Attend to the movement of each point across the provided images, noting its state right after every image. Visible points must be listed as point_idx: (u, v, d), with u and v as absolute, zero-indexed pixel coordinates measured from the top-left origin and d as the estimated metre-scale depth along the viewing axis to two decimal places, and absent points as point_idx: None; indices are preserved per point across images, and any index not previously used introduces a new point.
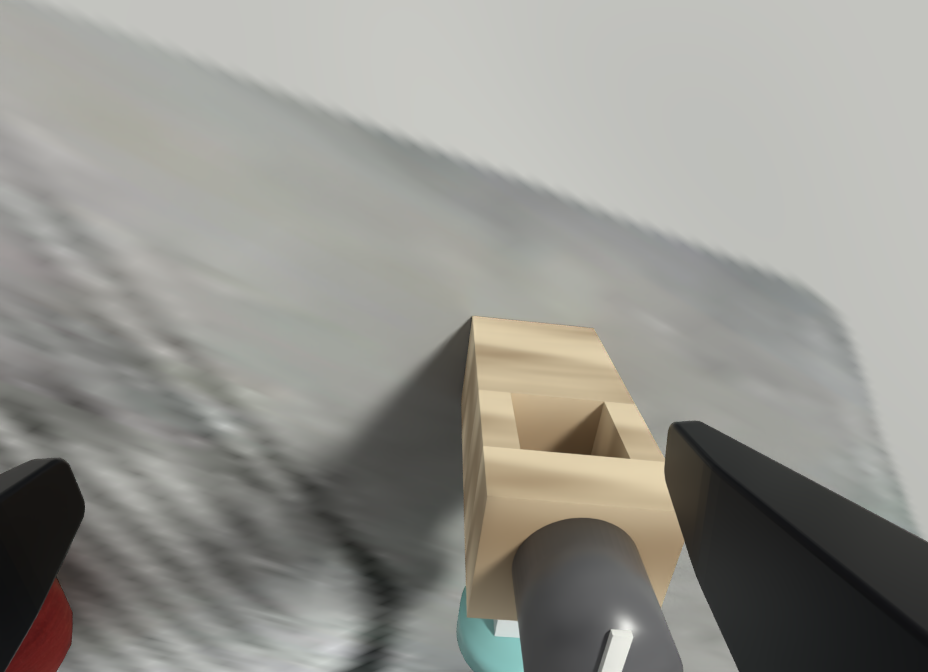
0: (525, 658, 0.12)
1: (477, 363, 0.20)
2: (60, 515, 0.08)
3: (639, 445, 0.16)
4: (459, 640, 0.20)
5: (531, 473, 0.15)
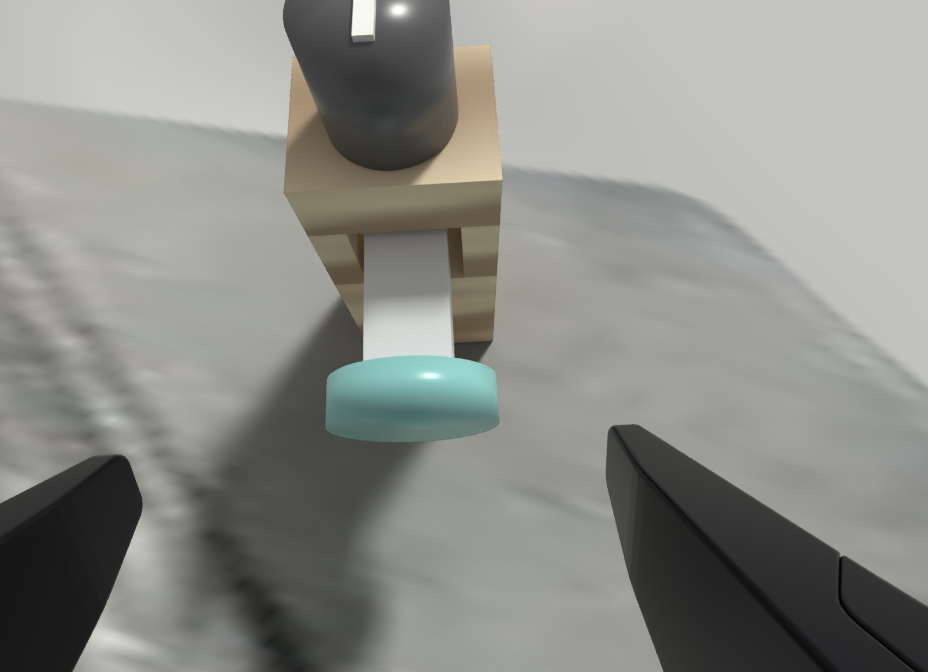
0: None
1: None
2: (121, 512, 0.08)
3: None
4: None
5: None
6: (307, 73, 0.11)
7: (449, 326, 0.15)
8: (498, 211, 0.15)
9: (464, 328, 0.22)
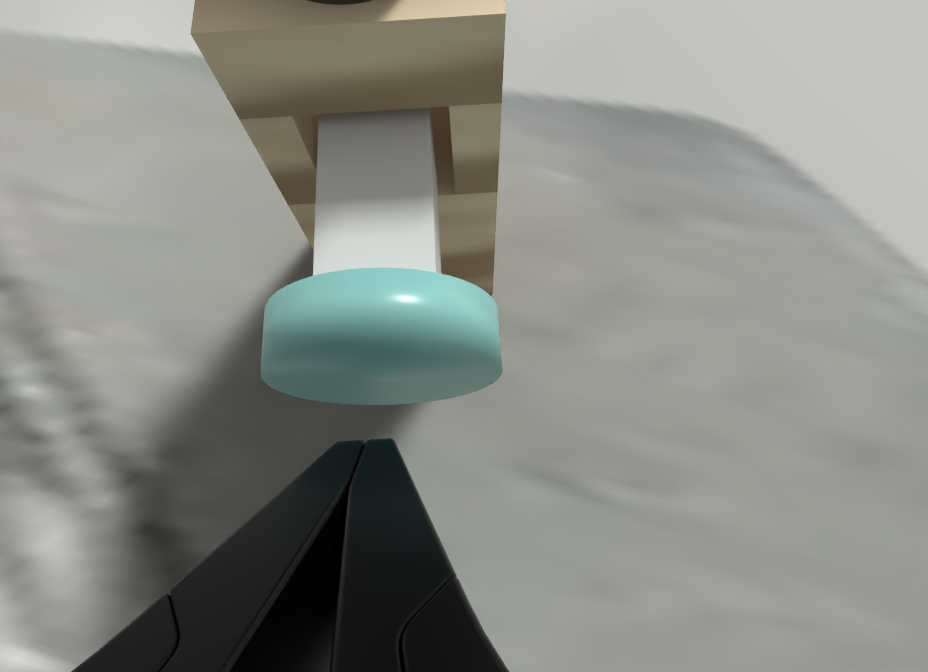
0: None
1: None
2: None
3: None
4: None
5: None
6: None
7: (432, 238, 0.11)
8: (500, 76, 0.11)
9: (457, 274, 0.18)
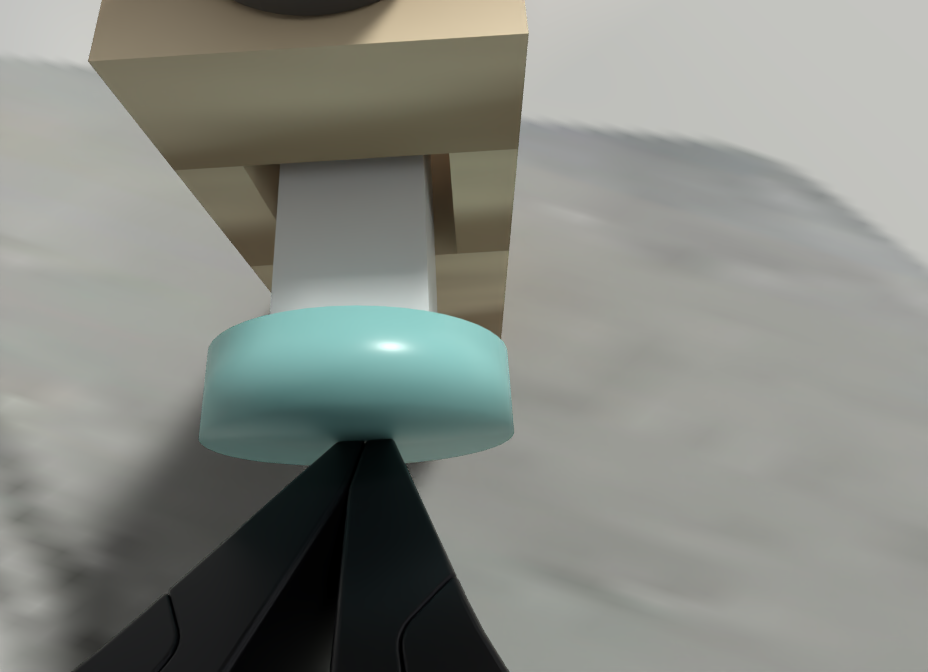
0: None
1: None
2: None
3: None
4: None
5: None
6: None
7: (425, 263, 0.08)
8: (517, 116, 0.08)
9: None
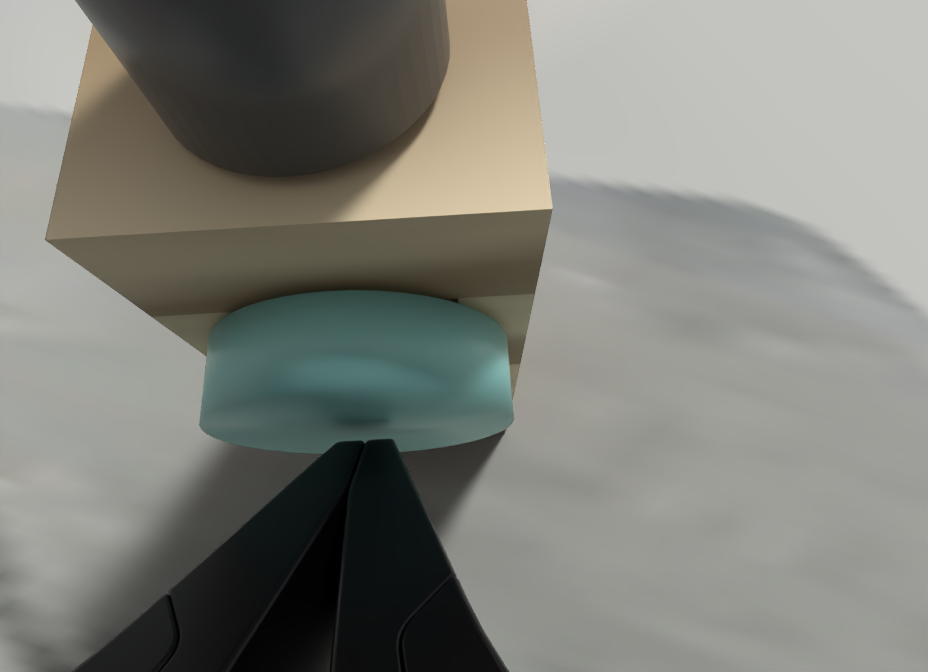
0: None
1: None
2: None
3: None
4: None
5: None
6: None
7: None
8: (535, 270, 0.07)
9: None
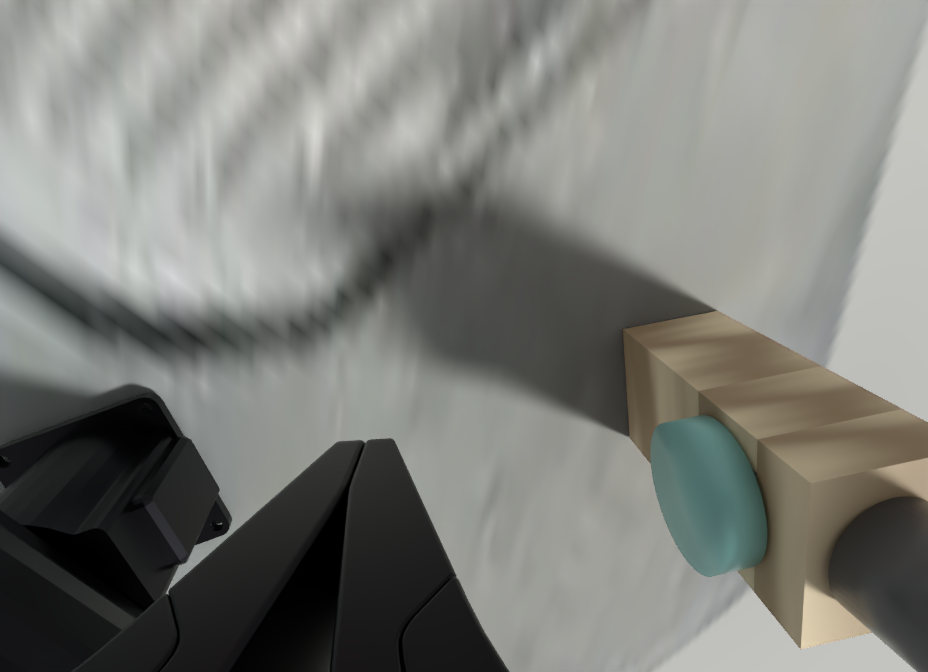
0: None
1: (784, 347, 0.20)
2: None
3: None
4: (699, 442, 0.16)
5: None
6: None
7: None
8: (768, 607, 0.16)
9: (644, 433, 0.23)
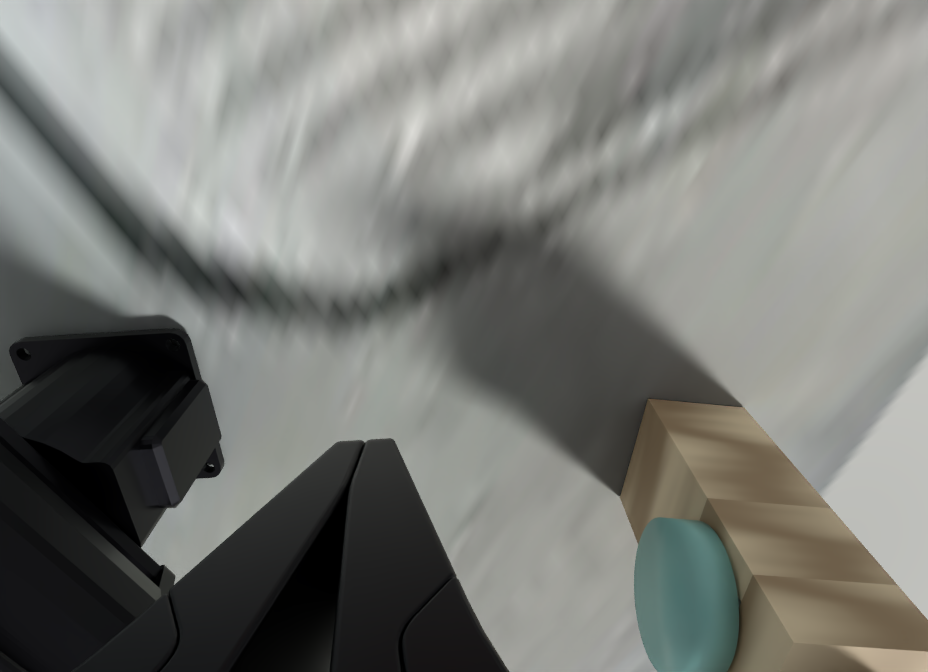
0: None
1: (799, 473, 0.20)
2: None
3: None
4: (696, 555, 0.16)
5: None
6: None
7: None
8: None
9: (636, 502, 0.24)
